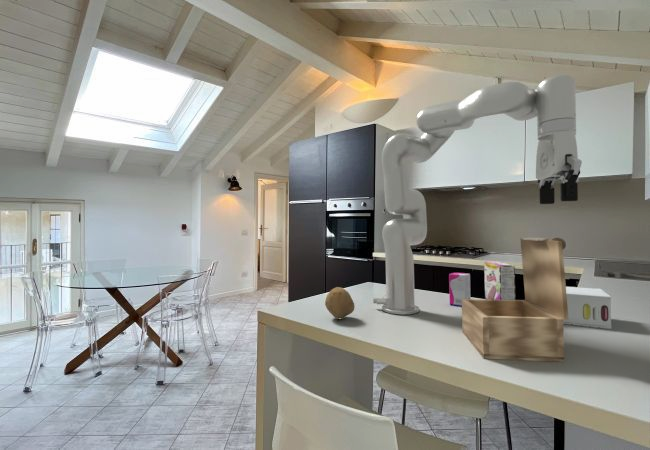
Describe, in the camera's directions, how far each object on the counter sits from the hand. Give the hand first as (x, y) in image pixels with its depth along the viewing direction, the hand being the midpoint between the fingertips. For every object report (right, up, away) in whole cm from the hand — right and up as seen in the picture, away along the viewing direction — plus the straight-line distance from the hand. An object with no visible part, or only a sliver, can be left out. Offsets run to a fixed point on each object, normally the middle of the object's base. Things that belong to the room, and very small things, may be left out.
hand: (557, 202), depth 78 cm
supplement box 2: (+19, -34, +21) cm, 45 cm away
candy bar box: (+2, -35, +30) cm, 46 cm away
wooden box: (-12, -34, +1) cm, 36 cm away
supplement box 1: (-6, -35, +42) cm, 55 cm away
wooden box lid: (-6, -17, 0) cm, 18 cm away
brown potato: (-51, -35, +27) cm, 68 cm away
